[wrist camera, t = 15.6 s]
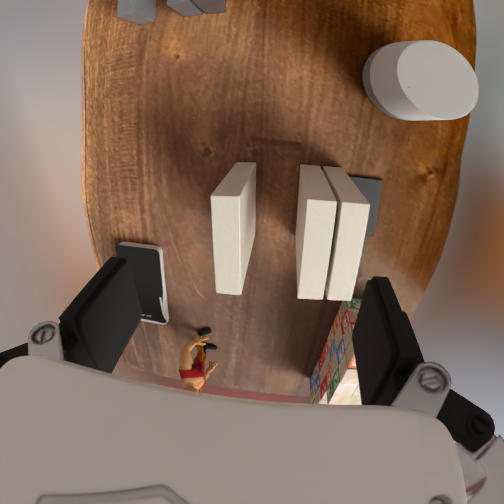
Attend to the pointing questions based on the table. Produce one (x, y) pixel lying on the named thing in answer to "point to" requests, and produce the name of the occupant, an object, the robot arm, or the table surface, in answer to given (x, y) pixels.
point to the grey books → (185, 3)
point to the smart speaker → (420, 81)
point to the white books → (332, 230)
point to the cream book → (233, 226)
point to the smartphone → (147, 279)
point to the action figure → (195, 363)
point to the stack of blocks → (338, 362)
